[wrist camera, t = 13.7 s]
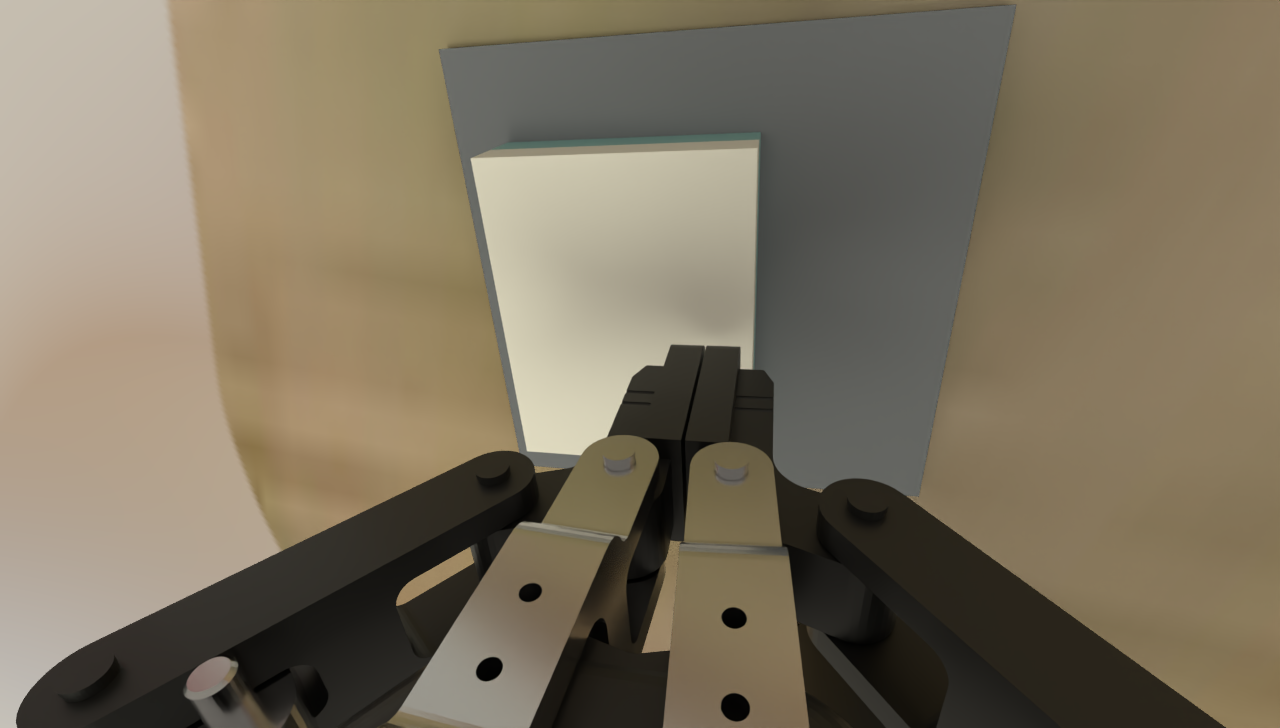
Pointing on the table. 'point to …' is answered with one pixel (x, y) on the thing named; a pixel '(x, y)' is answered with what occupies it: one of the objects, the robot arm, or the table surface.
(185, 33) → the table surface
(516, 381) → the block
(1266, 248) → the table surface
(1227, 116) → the table surface
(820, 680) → the mug
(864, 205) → the mat
